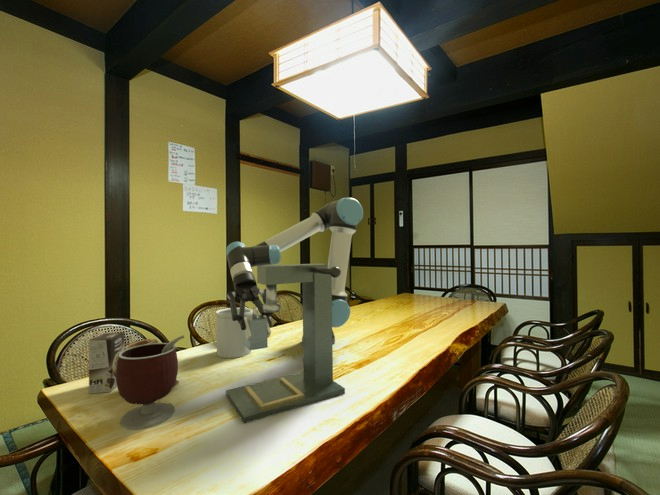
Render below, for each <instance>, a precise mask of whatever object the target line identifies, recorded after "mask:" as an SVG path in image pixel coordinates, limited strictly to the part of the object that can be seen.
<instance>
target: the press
mask: <svg viewBox="0 0 660 495" xmlns="http://www.w3.org/2000/svg"><path fill="white" fill-rule="evenodd" d="M340 274H341V270H340V268H338V267H332V268H331V269H328V263H301V264H300V263H295V264H293V263H291V264H273V265H264V266H256V276H257V277H256V283H257V284H261V285H265V289H266V303H265V304H264V303H262V304H263V312H265V313H273V314H275V313H279V312H281V303H279V302H278V294H277V293H278V291H277V290H278V288H277V285H283V284H285V285H287V284H299V283H301V285H302V287H301V288H302V289H301V290H302V336H303V344H302V349H303V350H302V353H303V354H302V355H303V357H302V358H303V359H302V361H303V363H302V364H303V365H302V366H303V371H301V372H298V373H293V374H289V375H285V376H281V377H277V378H272V379H268V380H265V381H259V382H255V383H251V384H248V385H244V386H243V385H242V386H239V387H235V388H231V389H227V390H225V396H226V398H227V399H228V401H229V402H230V405H231V406H232V407H233V409H234V410H235V411H236V414H238V416H239V417H240V419H241V421H242V422H243V423H244V424H247V423H248V424H249V423H250V422H254V421H257V420H261V419H265V418H268V417H270V416H274V415H277V414H280V413H281V414H282V413H284V412H287V411H291V410H293V409H297V408H301V407H305V406H308V405H310V404H314V403H318V402H321V401H323V400H327V399H331V398H333V397H337V396H340V395H341V396H342V395H344V394H346V392H345V391H346V388H345V387H344V386H342V385H340V384H339V383H337V382H336V381H334V377H333V376H334V372H333V370H334V369H333V368H334V367H333V366H334V363H333V360H334V359H333V353H334V352H333V351H334V350H333V345H332V330H333V327H332V277H334V278H337V277H339V276H340Z"/></svg>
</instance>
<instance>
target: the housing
mask: <svg viewBox="0 0 660 495" xmlns="http://www.w3.org/2000/svg"><path fill="white" fill-rule="evenodd" d="M252 310H253V314H252V316H244V318H245V317H247V321H248V324H249V328H250V332H251V338H250V340H248V341H247V339H246V335H245V331H244V330H243V345H245V346H246V347H247V348H248V349H249V350H251V351H255V350H260V349H262V350H263V349H266V348H267V349H268V347H269V345H268V338H269V337H268V336H267V318H265V317H264V316H262V315H261V314H259V311H258V308H257V307H252Z"/></svg>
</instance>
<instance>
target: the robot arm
mask: <svg viewBox="0 0 660 495" xmlns="http://www.w3.org/2000/svg"><path fill="white" fill-rule="evenodd" d="M363 218H364V209H363V206H362V205H361V203H360V202H359V201H358V200H357V199H356V198H353V197H343V198H340V199H338V200H337V199H336V200H333V201H331V202H328V203H327V204H325V205H324V206H323V207H321V208H318V209H317V210H316V211H314V212H312V213H311V216H309V217H308V218H306V219H304V220H301V221H299V222H298V223H296V224H293V225H292V226H289V228H287V229H285V230H283V231H281V232H279V233H277V234H275V235H273V236H271V237H270V238H268V239H265V240H264V241H262V242H260V243H258V244H256V245H253V246H248V247H247V246H246V245H245V243H243V242H241V241H233V242H230V244H228V245H227V247H226V249H225V254H226V260H227V263H228V267H229V271H230V272H229V273H230V276H231V279H232V280H231V281H232V285H233V288H234V291H228V292H227V296H226V299H227V301H228V302H229V308H231V314H232V320H233V321H238V323H240V327H241V330H244V331H245V335H246V339H247V341H248V340H250V338H251V332H250V328H249V324H248V321H247V317H245V318H244V311H245V308H246V303H247V302H251V303H252V304H253V305H254V306H255V308H258V313H259V315H262V316H264V317H265V318H267V336H268V338H270V336H271V333H272V331H271V328H270V327H271V324H272V321H271V317H272V316H273V314H274V313H265V312H263V304H265V303H266V288H264V289H263V290H262V289H261V288H259V287H258V285H257V284H258V283H257V279H256V277H255V274H254V270H253V268H254V267H257V266H267V265H279V264H280V262H281V261H282V260H281V259H282V252H283V251H285V250H287V249H289V248H291V247H293V246H294V245H297V244H298V243H300V242H302V241H304V240H305V239H307V238H309V237H311V236H313V235H315V234H317V233H319V232H321V233H323V232H325V231H327V230H330V232H331V237H330V245H329V251H328V259H327V264H328V269H331V268H332V267H338V268H340V270H341V274H340V276H339V277H337V278H334V277H332V328H335V329H336V328H341V327H342V326H343V325H345V324H346V323H347V322H348V320H350V316H351V308H350V305H349V304H348V302H347V301H348V293H347V292H346V291H345V289H346V283H347V276H348V275H347V274H348V266H349V261H350V253H351V246H352V245H351V244H352V237H353V235H354V234H355V233H356V232H357V228H358V224H359V223H360V222H361V221H362V219H363ZM259 295H260V296H259ZM235 297H236V298H237V299H238V300H240V301H239V308H240V311H239V315H238V313H237V308H238V307H237V303H236V298H235ZM260 297H261V298H262V301H261V299H260ZM301 344H302V345H303V335H302V337H301ZM334 344H336V337H335V333H334V330H333V329H332V346H333V345H334Z"/></svg>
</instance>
